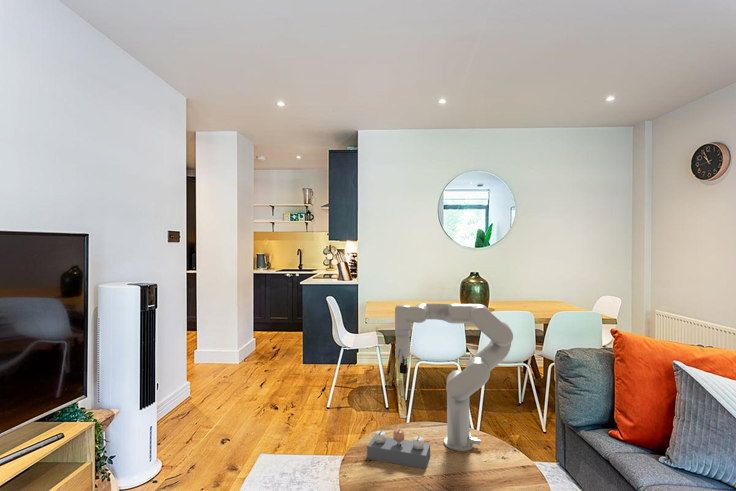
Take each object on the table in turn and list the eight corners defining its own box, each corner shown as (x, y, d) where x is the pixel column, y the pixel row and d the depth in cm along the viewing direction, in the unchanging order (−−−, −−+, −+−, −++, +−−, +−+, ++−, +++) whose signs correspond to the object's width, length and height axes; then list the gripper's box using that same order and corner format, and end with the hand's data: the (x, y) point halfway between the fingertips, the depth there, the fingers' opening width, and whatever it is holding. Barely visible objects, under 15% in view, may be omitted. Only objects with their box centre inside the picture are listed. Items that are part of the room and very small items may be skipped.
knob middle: (405, 445, 158) (405, 429, 158) (402, 450, 154) (402, 433, 154) (394, 443, 160) (394, 427, 160) (392, 448, 155) (392, 432, 156)
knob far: (386, 446, 161) (386, 431, 161) (383, 451, 157) (383, 435, 157) (376, 445, 162) (376, 429, 162) (373, 450, 158) (373, 434, 158)
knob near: (424, 453, 156) (424, 436, 156) (422, 458, 151) (422, 441, 152) (413, 451, 157) (413, 435, 157) (411, 456, 153) (411, 439, 153)
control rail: (430, 456, 158) (430, 443, 158) (426, 468, 148) (425, 455, 148) (374, 447, 165) (374, 435, 165) (367, 458, 156) (367, 446, 156)
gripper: (399, 329, 183) (399, 367, 183) (391, 335, 169) (391, 377, 168) (414, 329, 181) (414, 369, 180) (407, 336, 167) (407, 378, 166)
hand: (403, 372), depth 174 cm, fingers closed
